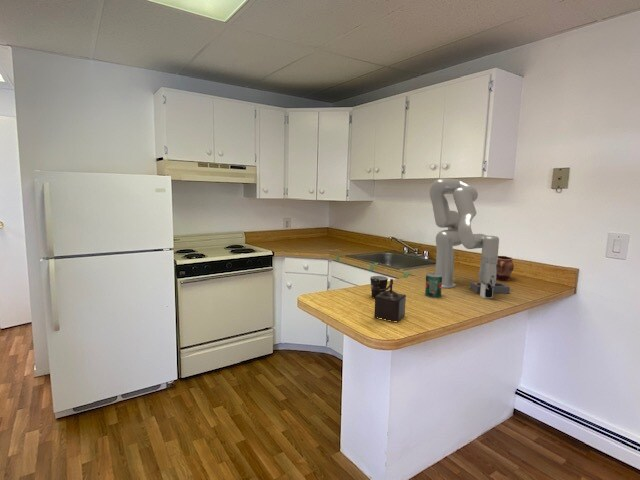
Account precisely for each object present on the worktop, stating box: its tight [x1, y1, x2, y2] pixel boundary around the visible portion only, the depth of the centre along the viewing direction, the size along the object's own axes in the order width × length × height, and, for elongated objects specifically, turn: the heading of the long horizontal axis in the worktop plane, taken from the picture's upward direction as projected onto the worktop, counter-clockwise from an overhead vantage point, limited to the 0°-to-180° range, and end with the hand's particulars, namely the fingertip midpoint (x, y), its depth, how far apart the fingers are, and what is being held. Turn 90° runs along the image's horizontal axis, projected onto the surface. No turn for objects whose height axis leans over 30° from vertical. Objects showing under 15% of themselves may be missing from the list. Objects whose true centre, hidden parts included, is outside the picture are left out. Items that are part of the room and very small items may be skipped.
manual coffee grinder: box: [370, 278, 407, 322], centre depth 150 cm, size 16×11×18 cm
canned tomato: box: [424, 272, 442, 299], centre depth 184 cm, size 8×8×11 cm
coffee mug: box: [369, 275, 389, 299], centre depth 181 cm, size 12×9×10 cm
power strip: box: [469, 281, 511, 295], centre depth 198 cm, size 17×16×4 cm
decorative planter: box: [496, 255, 514, 281], centre depth 219 cm, size 20×12×14 cm, turn 155°
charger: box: [479, 281, 494, 299], centre depth 183 cm, size 4×4×7 cm
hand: (486, 295), depth 184 cm, fingers closed on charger, 4 cm apart
